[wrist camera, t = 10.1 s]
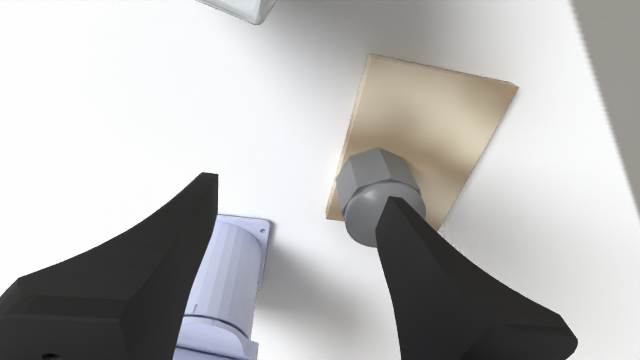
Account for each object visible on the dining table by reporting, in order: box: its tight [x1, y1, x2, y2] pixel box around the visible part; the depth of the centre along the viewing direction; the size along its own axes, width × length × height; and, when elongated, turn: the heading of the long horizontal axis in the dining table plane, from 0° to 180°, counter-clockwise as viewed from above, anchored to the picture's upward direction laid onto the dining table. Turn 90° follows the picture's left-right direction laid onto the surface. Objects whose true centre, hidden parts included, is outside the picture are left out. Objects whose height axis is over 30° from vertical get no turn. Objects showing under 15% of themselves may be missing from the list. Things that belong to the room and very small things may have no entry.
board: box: [326, 54, 519, 231], centre depth 23 cm, size 13×10×1 cm
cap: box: [336, 147, 426, 248], centre depth 22 cm, size 5×5×4 cm
